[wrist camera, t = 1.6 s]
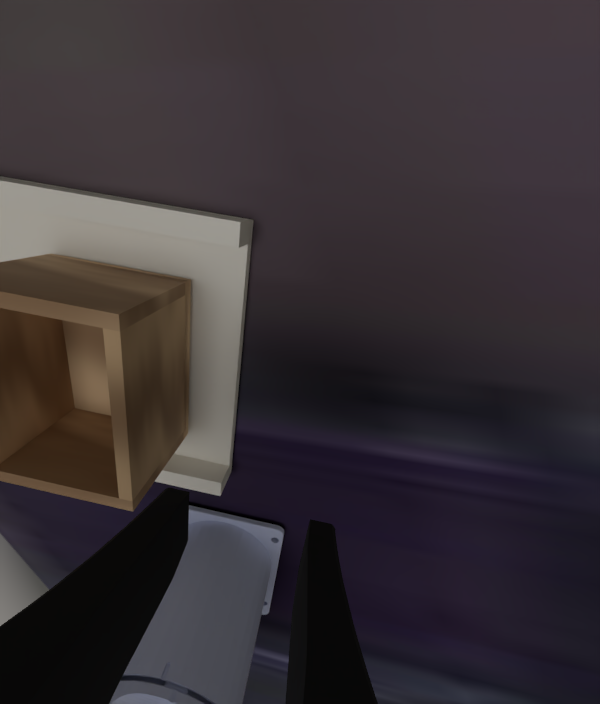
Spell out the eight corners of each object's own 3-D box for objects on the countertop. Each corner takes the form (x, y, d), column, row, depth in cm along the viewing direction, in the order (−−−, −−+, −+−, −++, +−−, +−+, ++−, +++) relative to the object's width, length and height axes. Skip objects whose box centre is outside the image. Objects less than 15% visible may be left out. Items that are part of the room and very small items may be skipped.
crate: (188, 433, 20) (133, 511, 15) (74, 408, 20) (-17, 476, 15) (190, 279, 16) (119, 314, 11) (51, 253, 16) (-80, 275, 12)
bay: (231, 471, 22) (220, 496, 20) (-60, 407, 23) (-95, 425, 21) (253, 219, 15) (240, 222, 14) (-147, 150, 17) (-208, 144, 15)
